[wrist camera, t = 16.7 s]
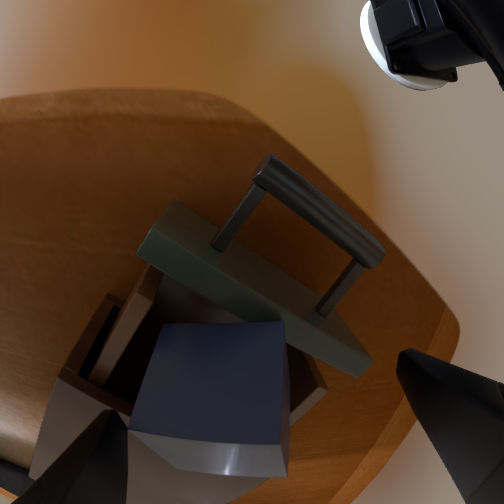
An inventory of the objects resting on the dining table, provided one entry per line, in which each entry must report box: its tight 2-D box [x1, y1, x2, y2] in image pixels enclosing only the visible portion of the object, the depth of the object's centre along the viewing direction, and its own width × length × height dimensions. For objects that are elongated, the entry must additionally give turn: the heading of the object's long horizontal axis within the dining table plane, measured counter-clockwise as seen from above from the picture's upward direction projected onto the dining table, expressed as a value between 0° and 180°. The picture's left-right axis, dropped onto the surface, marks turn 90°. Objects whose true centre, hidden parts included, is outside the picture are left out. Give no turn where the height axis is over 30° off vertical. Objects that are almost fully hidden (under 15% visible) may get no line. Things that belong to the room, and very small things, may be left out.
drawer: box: [85, 153, 385, 427], centre depth 15 cm, size 18×11×7 cm, turn 144°
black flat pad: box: [0, 461, 36, 497], centre depth 24 cm, size 15×22×5 cm
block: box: [127, 321, 290, 478], centre depth 11 cm, size 5×5×5 cm
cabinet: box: [29, 293, 271, 504], centre depth 17 cm, size 15×13×9 cm
